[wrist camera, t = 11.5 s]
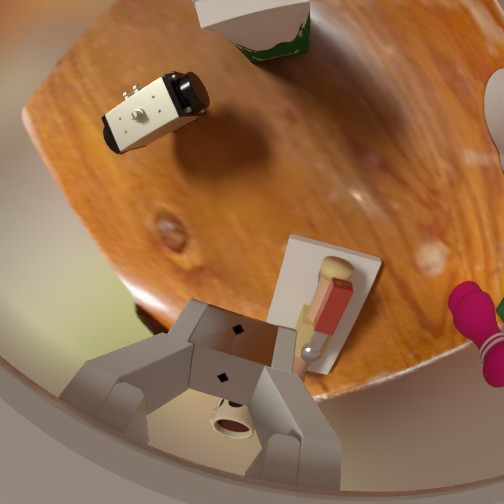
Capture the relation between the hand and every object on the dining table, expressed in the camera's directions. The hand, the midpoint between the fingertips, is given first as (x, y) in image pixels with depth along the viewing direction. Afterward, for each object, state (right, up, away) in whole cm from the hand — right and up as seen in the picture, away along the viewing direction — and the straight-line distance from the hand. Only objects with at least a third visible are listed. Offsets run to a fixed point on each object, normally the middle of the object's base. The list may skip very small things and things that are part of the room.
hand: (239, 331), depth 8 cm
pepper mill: (+35, -5, +31) cm, 46 cm away
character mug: (0, -21, +46) cm, 50 cm away
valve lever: (+9, -6, +27) cm, 29 cm away
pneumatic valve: (-9, +21, +27) cm, 35 cm away
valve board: (+10, -7, +37) cm, 38 cm away
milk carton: (+3, +29, +21) cm, 36 cm away
